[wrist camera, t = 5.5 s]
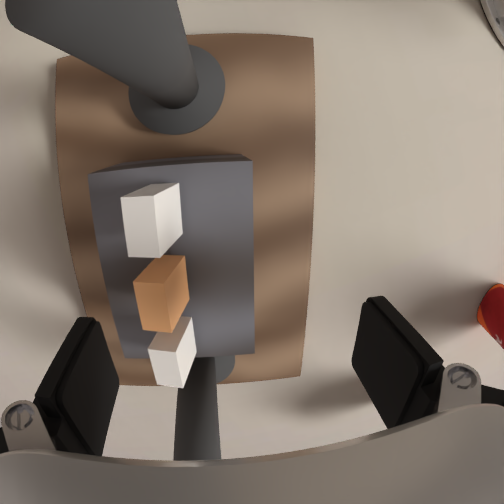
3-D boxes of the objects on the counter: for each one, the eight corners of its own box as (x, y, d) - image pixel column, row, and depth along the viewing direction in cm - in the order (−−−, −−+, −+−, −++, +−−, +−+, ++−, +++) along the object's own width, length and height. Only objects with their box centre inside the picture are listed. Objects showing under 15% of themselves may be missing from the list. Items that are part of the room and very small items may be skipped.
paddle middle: (158, 254, 15) (132, 281, 12) (184, 255, 15) (163, 283, 12) (164, 297, 16) (142, 329, 13) (189, 299, 16) (171, 332, 13)
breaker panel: (65, 63, 16) (12, 41, 9) (306, 43, 18) (347, 8, 11) (114, 374, 26) (97, 432, 20) (296, 365, 28) (317, 423, 21)
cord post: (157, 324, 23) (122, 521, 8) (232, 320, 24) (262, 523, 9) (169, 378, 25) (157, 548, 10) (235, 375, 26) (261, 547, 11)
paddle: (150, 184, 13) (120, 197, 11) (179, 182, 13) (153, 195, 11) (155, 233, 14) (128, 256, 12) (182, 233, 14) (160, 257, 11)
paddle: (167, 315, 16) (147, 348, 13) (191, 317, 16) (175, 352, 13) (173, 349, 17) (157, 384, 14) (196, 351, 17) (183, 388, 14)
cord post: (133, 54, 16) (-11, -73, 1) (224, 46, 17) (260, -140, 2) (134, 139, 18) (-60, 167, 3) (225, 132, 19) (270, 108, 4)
